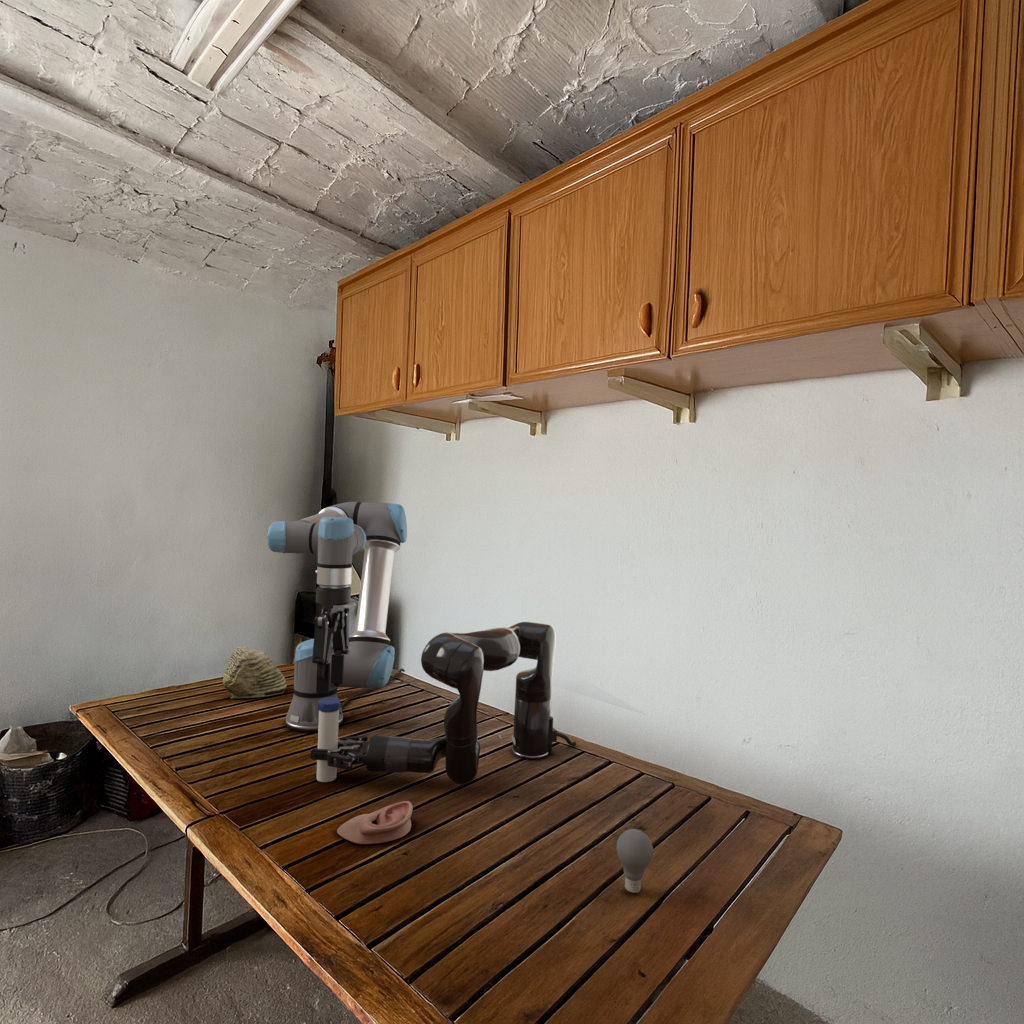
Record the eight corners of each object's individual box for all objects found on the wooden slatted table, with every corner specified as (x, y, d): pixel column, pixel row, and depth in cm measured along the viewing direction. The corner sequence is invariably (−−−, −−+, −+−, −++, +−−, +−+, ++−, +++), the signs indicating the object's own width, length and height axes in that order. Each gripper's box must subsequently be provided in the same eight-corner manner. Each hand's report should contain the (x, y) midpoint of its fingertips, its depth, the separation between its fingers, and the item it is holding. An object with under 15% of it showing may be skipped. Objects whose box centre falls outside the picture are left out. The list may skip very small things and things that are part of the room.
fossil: (218, 695, 195) (220, 647, 195) (278, 685, 208) (279, 640, 207) (228, 703, 189) (230, 653, 188) (289, 692, 201) (290, 645, 201)
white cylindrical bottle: (340, 776, 144) (343, 701, 144) (328, 783, 140) (331, 707, 140) (324, 772, 146) (327, 698, 145) (312, 779, 141) (315, 703, 141)
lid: (344, 707, 144) (345, 699, 144) (331, 713, 139) (331, 705, 139) (327, 703, 146) (327, 696, 146) (313, 709, 141) (313, 702, 141)
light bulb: (610, 879, 108) (613, 822, 108) (644, 879, 109) (647, 822, 109) (619, 902, 102) (622, 840, 102) (655, 901, 103) (658, 840, 103)
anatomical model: (329, 818, 117) (357, 790, 128) (328, 839, 117) (356, 810, 128) (397, 828, 114) (419, 799, 126) (396, 850, 114) (418, 819, 126)
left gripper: (336, 579, 152) (332, 674, 153) (297, 590, 133) (293, 699, 133) (366, 581, 151) (362, 677, 152) (331, 593, 132) (327, 702, 132)
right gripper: (398, 726, 149) (326, 722, 150) (383, 750, 135) (304, 745, 135) (396, 757, 149) (325, 753, 150) (382, 784, 135) (302, 780, 136)
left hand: (329, 687), depth 142 cm, fingers open, 7 cm apart
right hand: (315, 749), depth 143 cm, fingers closed on white cylindrical bottle, 4 cm apart
